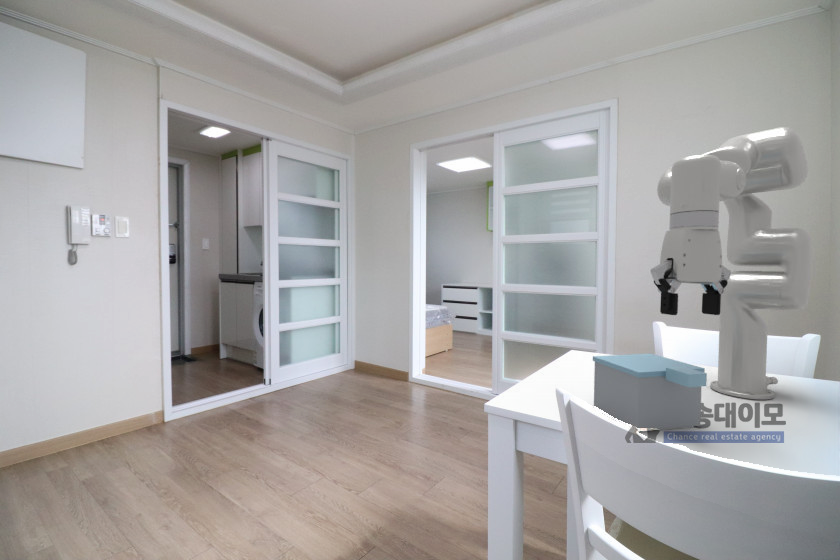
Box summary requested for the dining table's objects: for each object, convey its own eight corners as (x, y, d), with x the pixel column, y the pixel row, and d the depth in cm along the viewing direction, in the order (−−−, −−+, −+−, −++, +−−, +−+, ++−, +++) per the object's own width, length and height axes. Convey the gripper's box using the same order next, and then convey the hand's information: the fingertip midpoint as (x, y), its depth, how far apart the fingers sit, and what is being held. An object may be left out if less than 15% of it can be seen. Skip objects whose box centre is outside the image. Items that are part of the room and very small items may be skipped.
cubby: (649, 403, 90) (650, 357, 90) (700, 426, 77) (701, 372, 77) (593, 408, 87) (594, 360, 87) (637, 432, 74) (638, 377, 74)
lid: (650, 361, 90) (650, 350, 90) (731, 386, 72) (731, 371, 72) (592, 364, 87) (592, 352, 87) (661, 391, 68) (662, 376, 68)
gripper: (711, 228, 77) (707, 312, 77) (638, 223, 73) (635, 312, 74) (750, 223, 70) (746, 316, 70) (672, 218, 66) (669, 316, 66)
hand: (690, 314), depth 72 cm, fingers open, 9 cm apart
